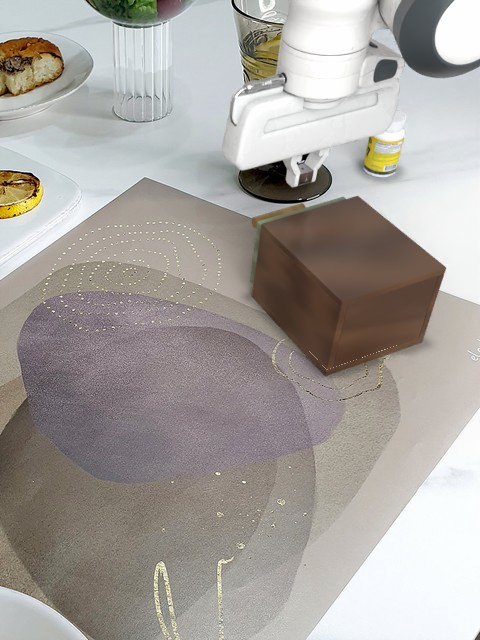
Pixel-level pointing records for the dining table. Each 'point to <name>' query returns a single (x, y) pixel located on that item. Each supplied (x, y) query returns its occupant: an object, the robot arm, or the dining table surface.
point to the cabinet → (345, 283)
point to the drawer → (277, 215)
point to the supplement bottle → (385, 149)
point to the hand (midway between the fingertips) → (300, 182)
